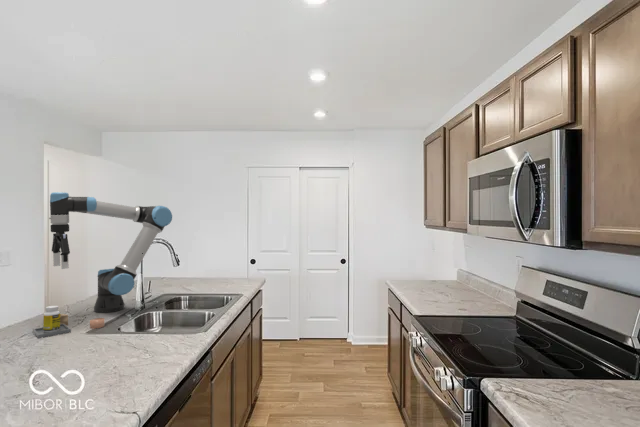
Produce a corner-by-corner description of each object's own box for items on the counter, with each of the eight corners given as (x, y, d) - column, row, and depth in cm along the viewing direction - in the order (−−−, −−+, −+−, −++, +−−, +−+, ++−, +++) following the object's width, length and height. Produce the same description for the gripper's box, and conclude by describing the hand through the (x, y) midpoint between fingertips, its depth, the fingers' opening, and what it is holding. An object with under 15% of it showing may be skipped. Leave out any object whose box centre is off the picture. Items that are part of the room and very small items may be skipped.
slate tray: (64, 326, 177) (64, 323, 177) (70, 332, 169) (70, 329, 169) (32, 332, 169) (32, 329, 169) (38, 338, 160) (38, 335, 160)
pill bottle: (53, 333, 166) (53, 308, 166) (39, 333, 166) (40, 308, 166) (63, 329, 172) (63, 305, 172) (50, 328, 172) (50, 305, 172)
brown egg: (102, 324, 182) (102, 317, 182) (106, 327, 178) (106, 319, 178) (88, 327, 178) (88, 319, 178) (92, 329, 174) (92, 322, 174)
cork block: (62, 323, 183) (62, 313, 183) (68, 325, 180) (68, 314, 181) (51, 326, 178) (51, 315, 179) (56, 327, 176) (56, 317, 176)
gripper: (43, 223, 188) (44, 265, 188) (58, 224, 171) (59, 270, 171) (61, 223, 193) (62, 264, 194) (77, 224, 177) (77, 268, 177)
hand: (60, 267), depth 182 cm, fingers open, 13 cm apart
